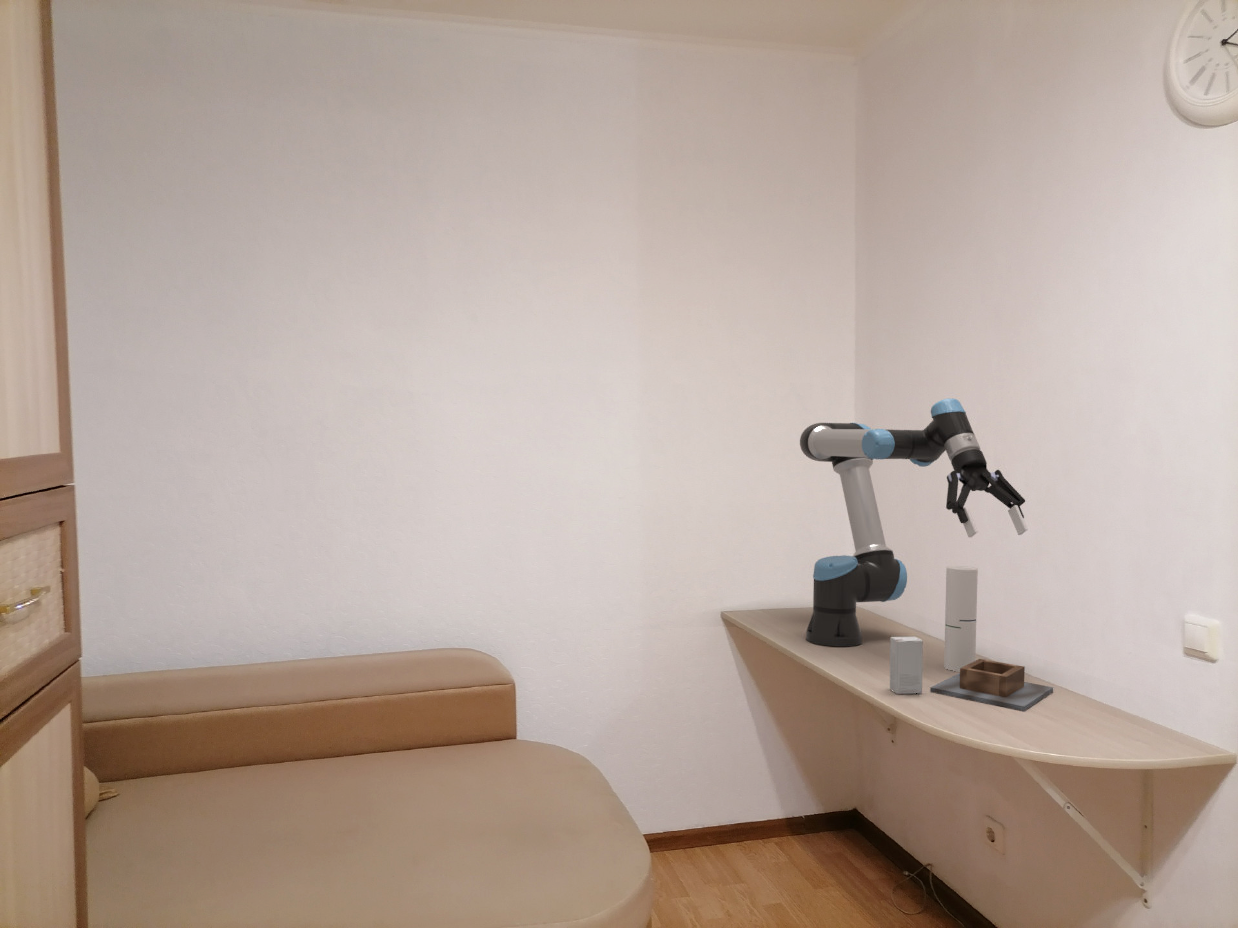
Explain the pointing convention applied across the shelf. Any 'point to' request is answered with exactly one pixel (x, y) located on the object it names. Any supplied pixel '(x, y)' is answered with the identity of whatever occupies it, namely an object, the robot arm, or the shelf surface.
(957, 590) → the cylindrical container
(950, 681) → the socket
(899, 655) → the skincare box
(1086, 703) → the shelf surface
